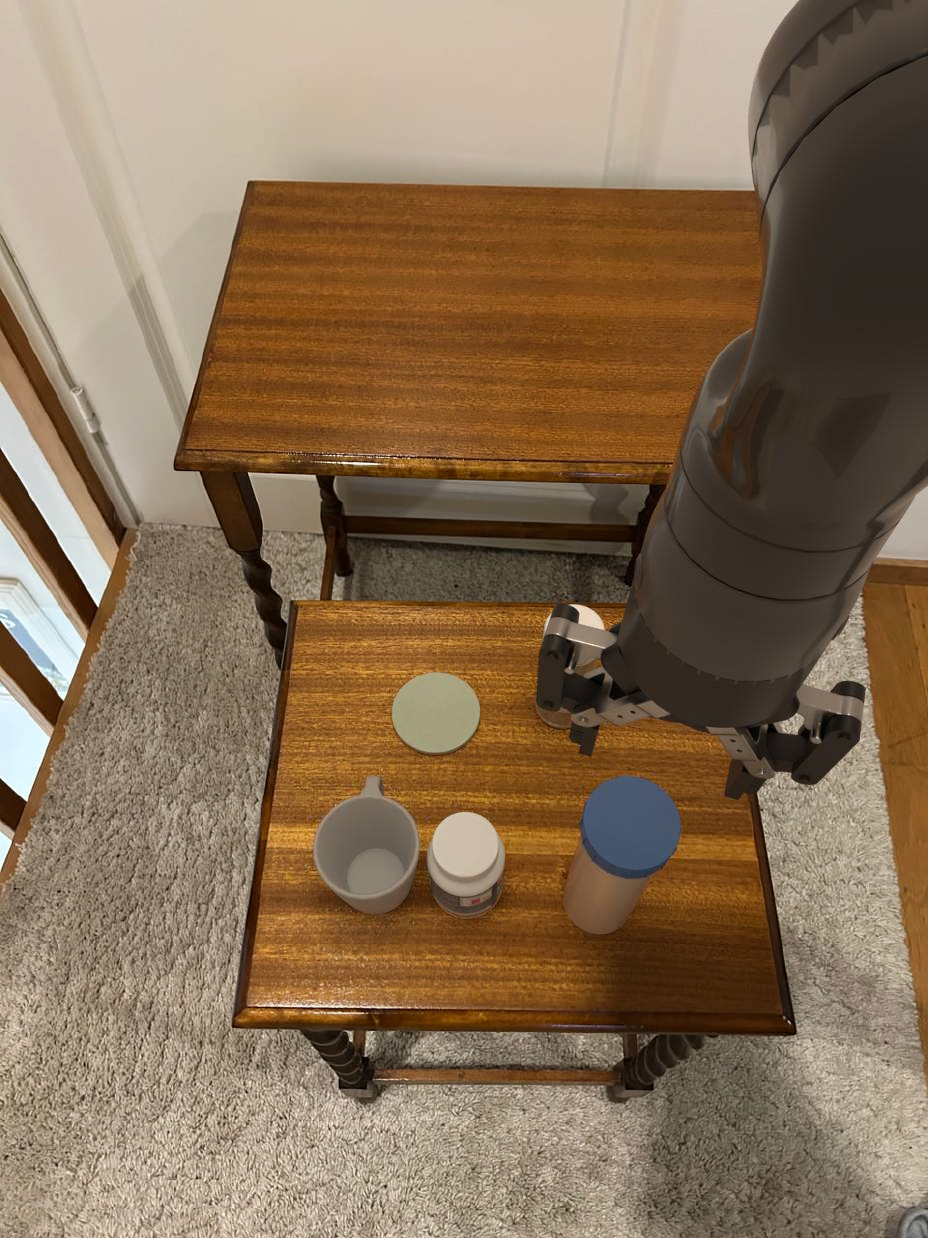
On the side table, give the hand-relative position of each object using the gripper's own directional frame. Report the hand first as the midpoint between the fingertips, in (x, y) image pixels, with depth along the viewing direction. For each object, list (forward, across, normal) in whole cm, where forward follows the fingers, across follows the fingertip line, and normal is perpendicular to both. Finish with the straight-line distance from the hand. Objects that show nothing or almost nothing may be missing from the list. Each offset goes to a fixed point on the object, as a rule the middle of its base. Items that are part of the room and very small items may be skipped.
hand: (660, 760), depth 49 cm
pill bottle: (+28, +10, +2) cm, 30 cm away
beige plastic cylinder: (+28, 0, 0) cm, 28 cm away
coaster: (+28, +17, -11) cm, 34 cm away
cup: (+28, +17, +3) cm, 33 cm away
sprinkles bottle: (+28, +7, -15) cm, 33 cm away
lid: (+10, 0, 0) cm, 10 cm away
